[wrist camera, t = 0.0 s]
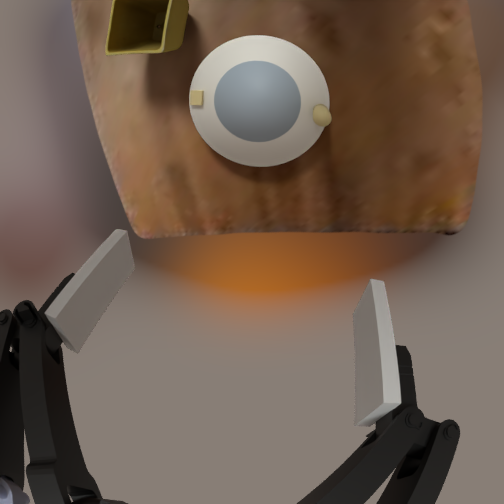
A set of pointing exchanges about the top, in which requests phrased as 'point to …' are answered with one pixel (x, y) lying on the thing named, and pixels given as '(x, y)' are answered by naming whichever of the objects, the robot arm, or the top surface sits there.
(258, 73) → the disc
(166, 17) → the flower pot
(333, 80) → the top surface
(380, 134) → the top surface
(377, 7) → the top surface
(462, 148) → the top surface
